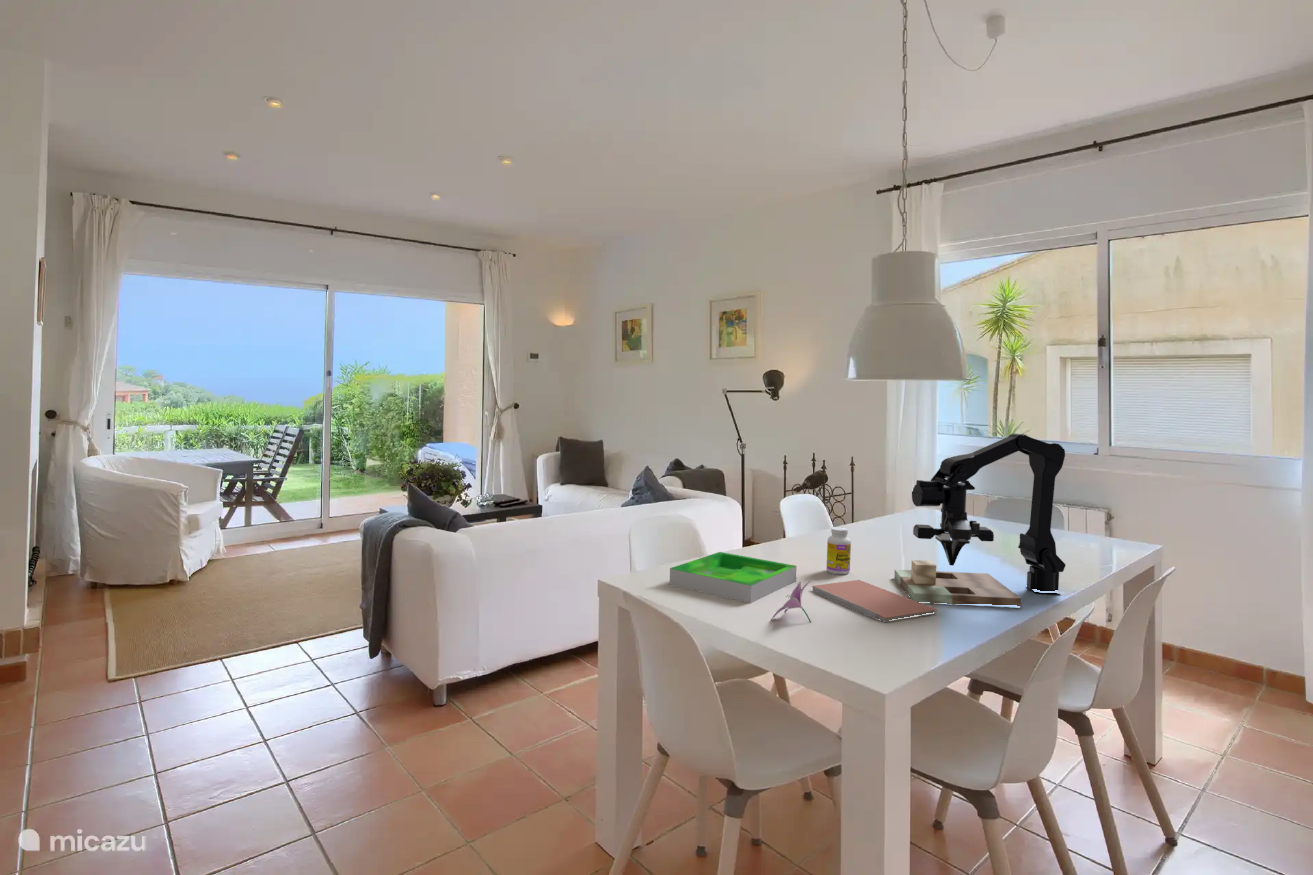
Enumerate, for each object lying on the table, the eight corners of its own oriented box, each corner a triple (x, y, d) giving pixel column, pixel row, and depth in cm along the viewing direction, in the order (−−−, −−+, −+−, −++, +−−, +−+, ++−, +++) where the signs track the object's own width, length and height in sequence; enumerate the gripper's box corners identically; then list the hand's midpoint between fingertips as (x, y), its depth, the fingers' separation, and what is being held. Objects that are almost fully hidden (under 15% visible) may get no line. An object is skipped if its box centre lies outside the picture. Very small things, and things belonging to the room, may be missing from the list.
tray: (750, 605, 166) (751, 585, 165) (669, 586, 181) (669, 568, 181) (796, 583, 185) (796, 565, 185) (719, 568, 201) (719, 551, 200)
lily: (809, 614, 161) (790, 577, 162) (839, 609, 151) (819, 570, 152) (773, 638, 155) (753, 600, 156) (802, 634, 145) (781, 593, 146)
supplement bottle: (833, 575, 192) (835, 531, 191) (822, 569, 198) (823, 526, 197) (854, 574, 194) (855, 530, 193) (842, 568, 200) (843, 525, 199)
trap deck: (987, 582, 187) (988, 573, 186) (1020, 608, 164) (1021, 598, 164) (894, 578, 190) (894, 569, 190) (914, 602, 167) (914, 593, 167)
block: (930, 579, 180) (931, 560, 180) (935, 584, 175) (936, 565, 175) (911, 578, 181) (911, 560, 180) (915, 583, 176) (916, 564, 175)
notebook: (808, 592, 177) (808, 585, 177) (858, 585, 184) (859, 578, 183) (881, 625, 152) (881, 616, 152) (936, 616, 159) (937, 608, 159)
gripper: (924, 510, 169) (922, 571, 170) (1003, 513, 166) (1000, 574, 167) (913, 503, 180) (911, 560, 181) (987, 505, 177) (984, 563, 178)
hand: (951, 565), depth 176 cm, fingers closed
